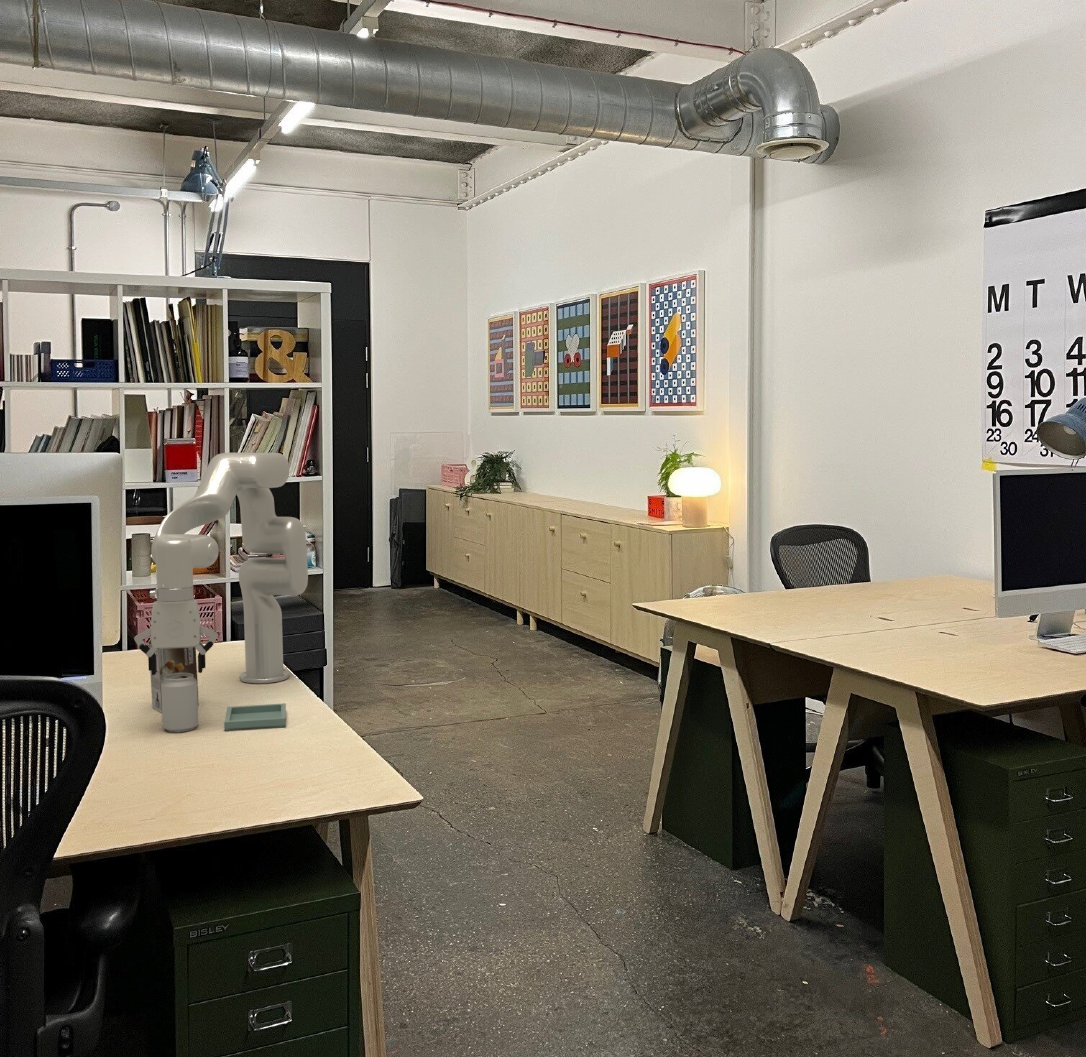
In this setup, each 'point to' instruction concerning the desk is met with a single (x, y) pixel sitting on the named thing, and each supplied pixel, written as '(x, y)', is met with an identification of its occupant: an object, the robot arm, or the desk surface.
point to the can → (179, 702)
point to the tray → (255, 717)
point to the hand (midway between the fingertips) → (177, 672)
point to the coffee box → (171, 669)
